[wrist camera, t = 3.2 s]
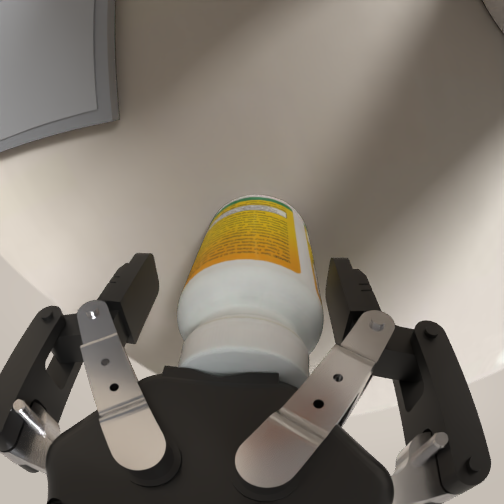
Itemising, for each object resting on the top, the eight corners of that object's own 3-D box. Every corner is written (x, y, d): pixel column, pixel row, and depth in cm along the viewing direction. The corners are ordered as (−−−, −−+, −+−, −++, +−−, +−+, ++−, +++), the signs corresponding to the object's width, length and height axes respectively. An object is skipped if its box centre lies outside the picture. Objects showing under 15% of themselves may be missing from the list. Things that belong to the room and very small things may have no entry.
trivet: (121, -64, 7) (114, -69, 6) (119, 119, 13) (111, 121, 12) (-14, 11, 8) (-22, 11, 7) (-9, 155, 14) (-18, 159, 13)
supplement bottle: (325, 244, 16) (364, 395, 8) (252, 291, 18) (238, 438, 10) (264, 169, 14) (252, 296, 6) (189, 230, 16) (123, 372, 8)
